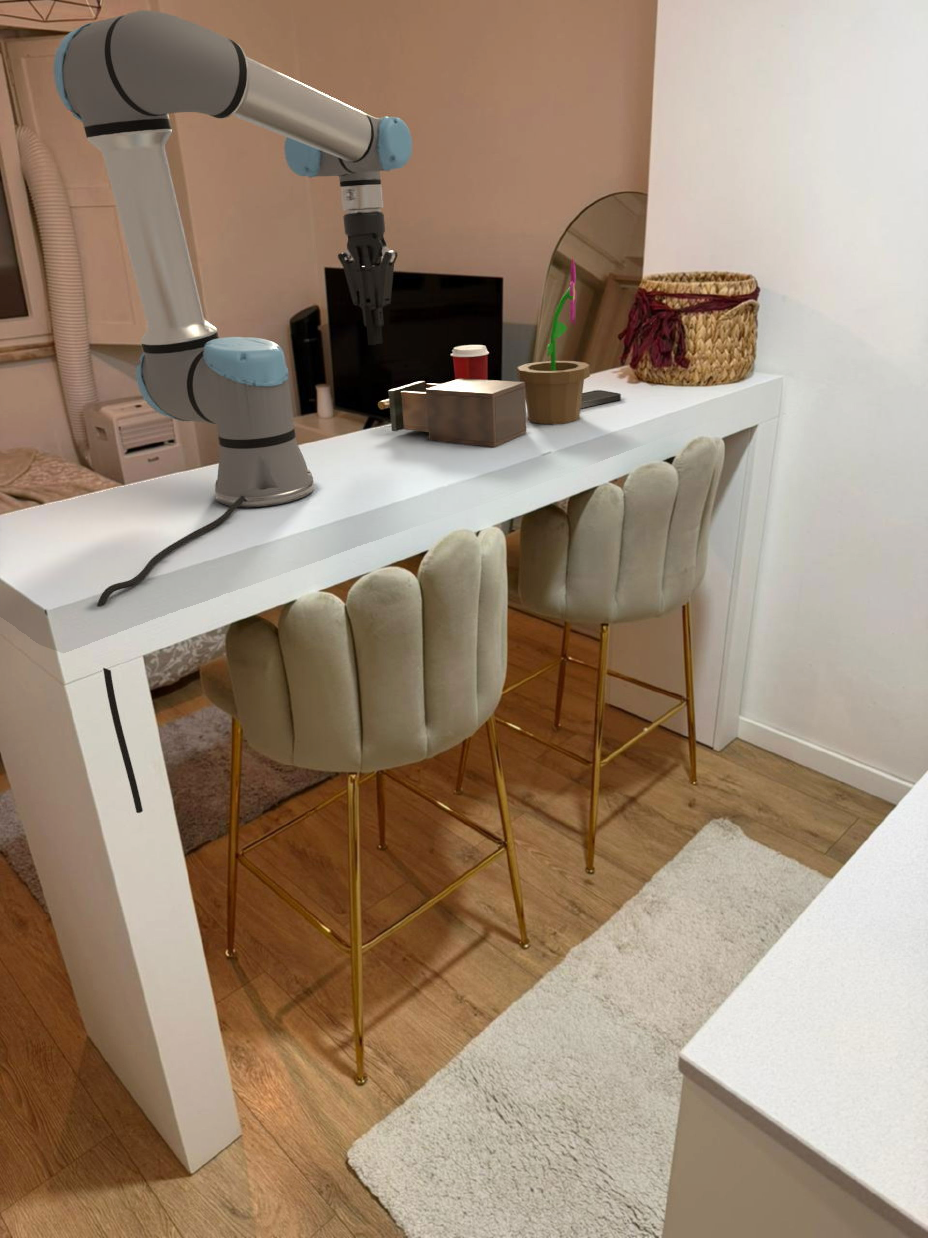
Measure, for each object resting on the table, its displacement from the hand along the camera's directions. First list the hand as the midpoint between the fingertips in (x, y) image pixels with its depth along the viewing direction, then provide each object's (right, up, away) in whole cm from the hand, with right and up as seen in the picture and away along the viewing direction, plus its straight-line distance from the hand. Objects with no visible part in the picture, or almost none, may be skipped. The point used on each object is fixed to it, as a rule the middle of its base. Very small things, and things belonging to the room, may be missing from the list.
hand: (375, 343), depth 174 cm
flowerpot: (+35, -14, +6) cm, 38 cm away
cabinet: (+20, -19, -5) cm, 28 cm away
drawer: (+10, -16, +1) cm, 19 cm away
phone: (+44, -7, +18) cm, 48 cm away
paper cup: (+19, -12, +12) cm, 25 cm away
